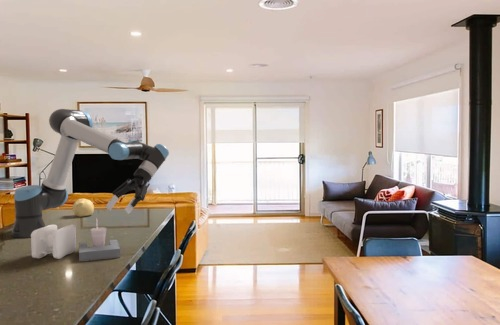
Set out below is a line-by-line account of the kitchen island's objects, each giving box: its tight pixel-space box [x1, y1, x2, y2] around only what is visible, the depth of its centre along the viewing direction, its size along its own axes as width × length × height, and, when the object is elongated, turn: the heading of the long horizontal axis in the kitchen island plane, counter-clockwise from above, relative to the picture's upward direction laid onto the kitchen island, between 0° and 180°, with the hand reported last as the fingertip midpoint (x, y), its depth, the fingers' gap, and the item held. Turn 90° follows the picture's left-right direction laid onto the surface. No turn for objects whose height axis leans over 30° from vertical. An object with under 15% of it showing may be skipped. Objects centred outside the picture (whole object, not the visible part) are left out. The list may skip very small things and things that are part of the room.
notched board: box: [78, 239, 121, 262], centre depth 170 cm, size 16×15×4 cm
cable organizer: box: [30, 224, 77, 260], centre depth 167 cm, size 15×11×12 cm
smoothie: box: [89, 217, 108, 247], centre depth 173 cm, size 6×6×14 cm
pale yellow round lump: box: [72, 197, 95, 218], centre depth 252 cm, size 11×12×11 cm
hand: (116, 210), depth 179 cm, fingers open, 13 cm apart
